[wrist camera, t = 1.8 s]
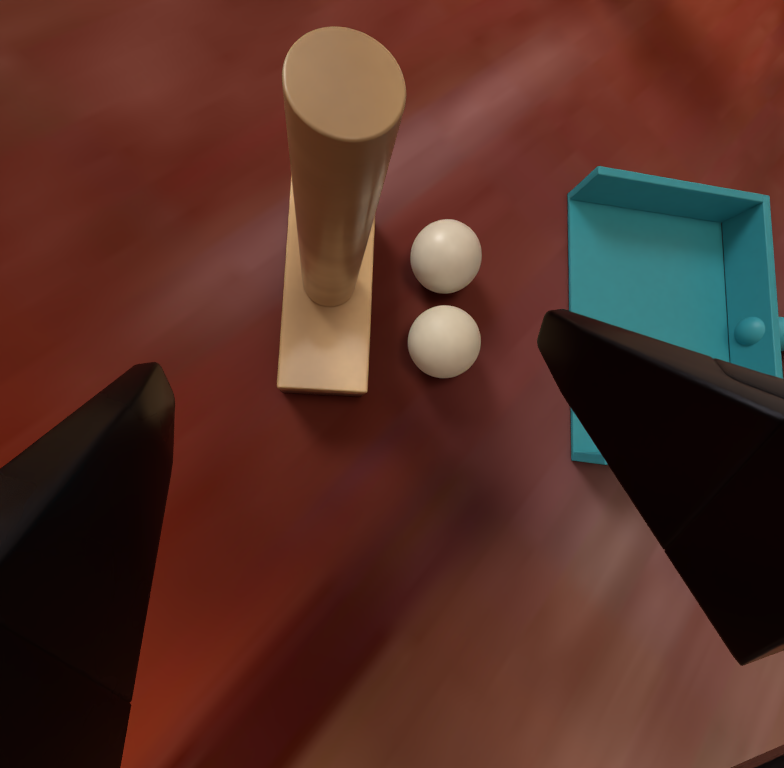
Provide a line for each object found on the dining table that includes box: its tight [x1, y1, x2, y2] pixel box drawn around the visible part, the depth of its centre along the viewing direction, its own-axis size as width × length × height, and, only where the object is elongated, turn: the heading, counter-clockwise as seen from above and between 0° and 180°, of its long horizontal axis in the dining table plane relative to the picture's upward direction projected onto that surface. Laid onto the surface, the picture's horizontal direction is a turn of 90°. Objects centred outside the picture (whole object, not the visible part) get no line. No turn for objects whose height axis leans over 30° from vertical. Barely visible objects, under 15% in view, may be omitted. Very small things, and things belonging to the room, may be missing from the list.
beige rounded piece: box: [408, 305, 481, 378], centre depth 20 cm, size 4×4×4 cm
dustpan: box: [568, 166, 784, 465], centre depth 24 cm, size 18×16×3 cm
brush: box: [277, 27, 406, 397], centre depth 14 cm, size 4×10×13 cm, turn 178°
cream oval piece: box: [410, 219, 482, 294], centre depth 20 cm, size 4×4×4 cm
